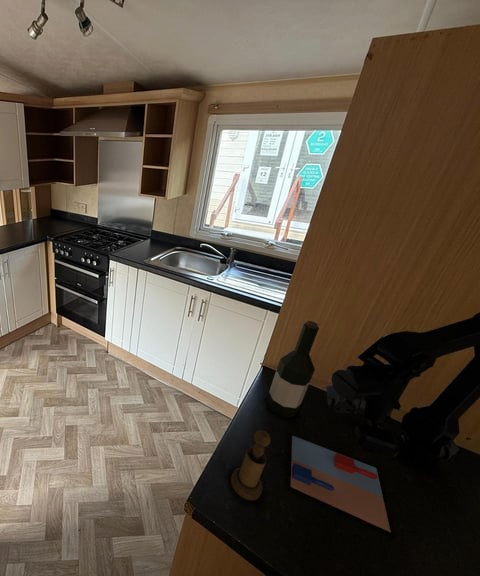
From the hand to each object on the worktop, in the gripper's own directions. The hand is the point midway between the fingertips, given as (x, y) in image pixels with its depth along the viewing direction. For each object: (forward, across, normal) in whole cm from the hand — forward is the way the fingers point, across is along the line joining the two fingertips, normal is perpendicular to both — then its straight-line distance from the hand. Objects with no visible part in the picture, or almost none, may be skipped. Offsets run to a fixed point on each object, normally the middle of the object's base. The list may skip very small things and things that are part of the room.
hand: (354, 440), depth 72 cm
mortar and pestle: (+10, +16, -20) cm, 28 cm away
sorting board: (+10, +4, -2) cm, 11 cm away
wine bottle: (+10, -15, -13) cm, 22 cm away
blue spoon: (+9, +8, -7) cm, 14 cm away
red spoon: (+9, 0, +3) cm, 10 cm away
